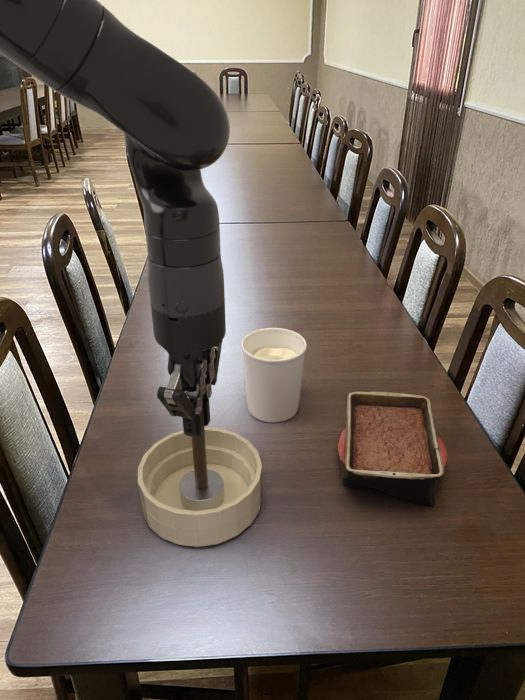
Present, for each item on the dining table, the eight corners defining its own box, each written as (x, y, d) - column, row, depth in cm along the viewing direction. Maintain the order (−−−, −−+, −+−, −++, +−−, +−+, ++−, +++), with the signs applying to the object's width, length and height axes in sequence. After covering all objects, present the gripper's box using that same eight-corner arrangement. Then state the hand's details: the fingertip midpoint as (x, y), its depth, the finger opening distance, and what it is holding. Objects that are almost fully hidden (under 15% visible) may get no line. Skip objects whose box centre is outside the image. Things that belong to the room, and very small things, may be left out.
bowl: (167, 569, 61) (163, 534, 58) (128, 483, 72) (122, 450, 69) (283, 519, 67) (284, 484, 64) (229, 447, 79) (228, 414, 75)
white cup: (237, 422, 83) (235, 357, 77) (248, 386, 92) (247, 325, 85) (300, 429, 82) (303, 363, 76) (305, 392, 90) (309, 330, 84)
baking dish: (325, 510, 71) (335, 463, 64) (342, 413, 84) (352, 366, 78) (436, 536, 69) (458, 490, 62) (435, 432, 82) (453, 386, 76)
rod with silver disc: (190, 520, 66) (181, 415, 58) (174, 491, 70) (163, 388, 62) (231, 504, 68) (228, 400, 60) (213, 476, 73) (207, 375, 64)
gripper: (180, 267, 61) (190, 391, 70) (121, 321, 50) (141, 461, 59) (243, 274, 59) (245, 401, 68) (196, 333, 48) (206, 475, 57)
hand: (197, 428), depth 63 cm, fingers closed on rod with silver disc
